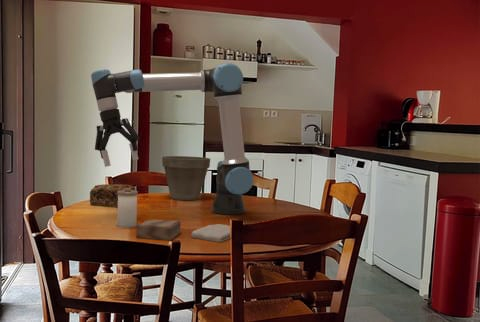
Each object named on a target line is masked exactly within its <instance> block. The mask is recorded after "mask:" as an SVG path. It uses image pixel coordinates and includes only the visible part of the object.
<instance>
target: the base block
mask: <svg viewBox="0 0 480 322" xmlns="http://www.w3.org/2000/svg"><path fill="white" fill-rule="evenodd" d="M180 233H181V221H179V220H169V219H168V220H167V219H153V218H152V219H151V218H148V219H146V220H145V221H143V222H141V223H140V224H137V225H136V239H137V238H138V239H148V240H162V241H163V240H164V241H172V240H173V239H174V238H175V237H177V236H178V235H179V234H180Z"/></svg>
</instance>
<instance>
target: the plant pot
mask: <svg viewBox="0 0 480 322" xmlns="http://www.w3.org/2000/svg"><path fill="white" fill-rule="evenodd" d="M161 159H162V160H161V163H162V167H163V169H164V174H165V178H166V182H167V183H166V184H167V187H168V192H169V196H170V199H172V200H178V201H196V200H199V199H200V196H201V192H202V191H203V190H202V189H203V186H204V183H205V180H206V176H207V173H208V170H209V168H210V166H211V158H210V157H203V156H187V155H185V156H184V155H170V156H169V155H168V156H167V155H166V156H162V157H161Z"/></svg>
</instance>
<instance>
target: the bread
mask: <svg viewBox="0 0 480 322" xmlns="http://www.w3.org/2000/svg"><path fill="white" fill-rule="evenodd" d="M125 188H131V190H136V188H135V186H134V185H131V184H122V183H121V184H118V183H117V184H108V183H107V184H98V185H94V186H93V188H91V190H90V191H89V203H90V206H92V205H93V206H96V207H105V208H106V207H108V208H118V194H117V191H119V190H124V189H125Z"/></svg>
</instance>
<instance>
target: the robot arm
mask: <svg viewBox="0 0 480 322" xmlns="http://www.w3.org/2000/svg"><path fill="white" fill-rule="evenodd" d="M90 76H91V77H90V78H91V83H92V84H91V85H92V88H93V92H94V97H95V99H96V105H97V109H98V111H99V117H100V121H101V122H102V125H96V137H95V145H94V150H95V151H99V153H100V154H99V155H100V157H101V159H102V160H103V164H104V167H105V168H106V167H110V166H111V160H110V156H109V153H108V149H106V148H107V145H108V142H109V139H110V137H111V136H112V135H114V134H116V133H117V134H118V133H119V134H120V135H122V136H123V137H124V138H125V139H126V140H127V141H128V142H129V144H128V145H129V150H130V154H131V158H132V161H135V160H139V156H138V152H137V151H138V150H139V148H138V144H137V142H138V141H140V140H141V137H140V135H139V134H138V133H137V132H136V130H135V129H134V128H133V126H132V125H131V123H130V120H129V119H128V118H127V117H126V118H121V116H122V115H121V112H120V109H119V105H118V104H119V103H118V100H117V95H116V94H119V93H126V94H132V93H143V92H144V93H146V92H150V93H151V92H173V91H175V92H176V91H177V92H178V91H200V92H202V93H213V99H215V100H216V101H217V102H218V110H219V119H220V130H221V137H222V138H221V139H222V147H223V157H224V159H223V160H220V161H218V162H217V164H216V194H215V198H214V199H213V203H212V206H211V212H213V213H214V214H218V215H230V216H231V215H241V214H242V215H243V214H245V213H246V205H245V201H244V198H243V194H246V193H248V192H249V191H250V190H251V188H252V187H253V184H254V175H253V173H252V171H251V169H250V161H249V158H247V157H246V155H245V145H244V144H245V143H244V137H243V135H244V134H243V125H242V118H241V117H242V116H241V107H240V99H241V97H242V96H243V93H242V92H243V89H242V85H243V82H244V75H243V71H242V70H241V68H240V67H239V66H237V65H236V64H234V63H232V62H224V63H220V64H219V65H218V66H216V67H214V68H209V69H201V70H200V71H198V72H170V73H167V72H166V73H164V72H163V73H143V72H142V70H141V69H131V70H126V71H121V72H116V73H111V71H110V69H105V68H103V69H99V70H94V71H93V72H92V73H91V74H90Z"/></svg>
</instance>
